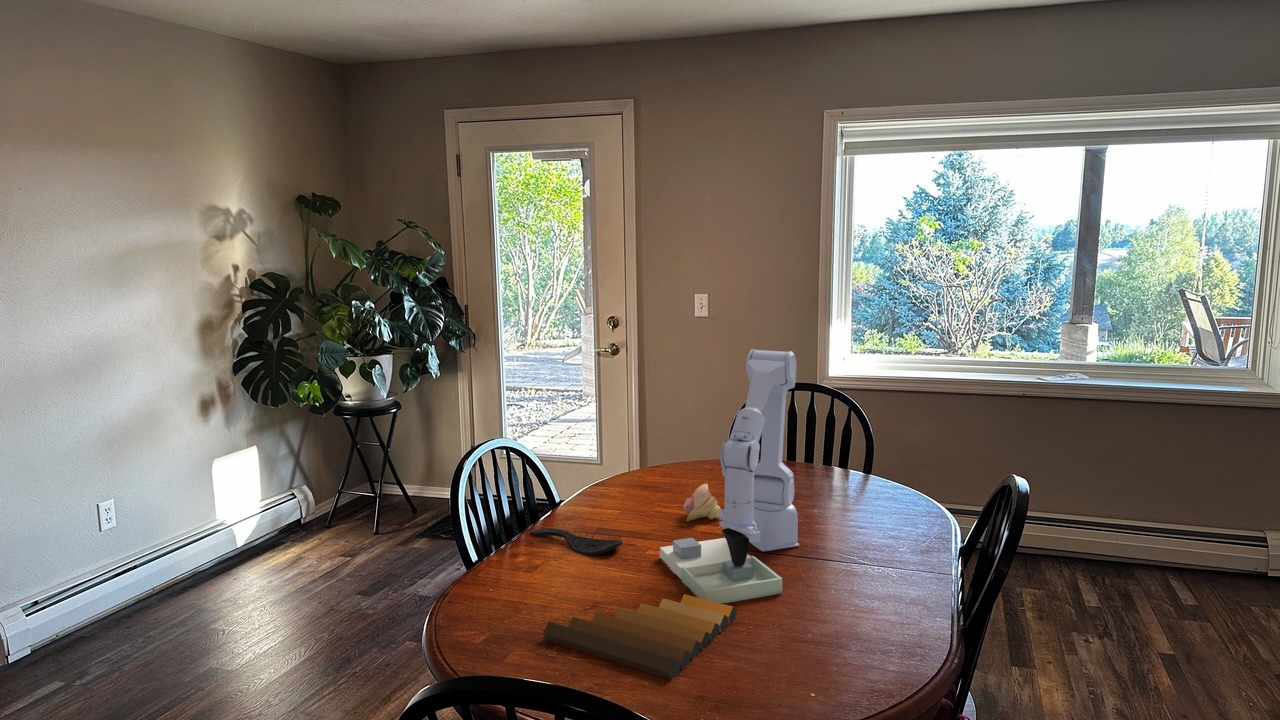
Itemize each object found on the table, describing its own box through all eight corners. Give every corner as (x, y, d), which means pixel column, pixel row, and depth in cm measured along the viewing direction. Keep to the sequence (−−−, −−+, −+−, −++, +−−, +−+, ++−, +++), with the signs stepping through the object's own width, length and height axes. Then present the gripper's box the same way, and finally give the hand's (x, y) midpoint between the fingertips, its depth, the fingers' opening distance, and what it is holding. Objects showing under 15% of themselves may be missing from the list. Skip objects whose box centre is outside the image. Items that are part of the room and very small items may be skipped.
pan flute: (543, 644, 138) (669, 685, 125) (542, 625, 138) (669, 665, 125) (621, 589, 159) (737, 620, 146) (621, 573, 159) (737, 602, 146)
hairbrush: (543, 517, 192) (630, 532, 178) (544, 532, 192) (630, 548, 179) (520, 528, 185) (608, 544, 171) (521, 543, 185) (609, 561, 172)
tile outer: (692, 548, 172) (692, 537, 171) (701, 556, 167) (701, 545, 167) (673, 551, 170) (673, 540, 170) (681, 559, 166) (681, 548, 166)
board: (727, 548, 178) (727, 537, 178) (752, 568, 167) (752, 557, 167) (659, 558, 173) (659, 547, 173) (681, 580, 162) (681, 568, 161)
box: (753, 569, 167) (753, 555, 166) (782, 593, 156) (782, 578, 155) (681, 581, 161) (681, 567, 161) (705, 606, 150) (705, 591, 150)
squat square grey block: (742, 569, 165) (742, 558, 165) (752, 578, 161) (753, 566, 161) (722, 573, 164) (722, 561, 163) (732, 581, 160) (733, 569, 159)
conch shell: (726, 515, 201) (731, 498, 193) (699, 541, 196) (703, 525, 188) (699, 491, 204) (703, 473, 196) (672, 516, 200) (675, 499, 192)
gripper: (705, 491, 165) (705, 553, 167) (737, 513, 151) (736, 581, 153) (736, 487, 167) (736, 549, 169) (770, 509, 154) (769, 576, 156)
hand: (738, 564), depth 161 cm, fingers closed
